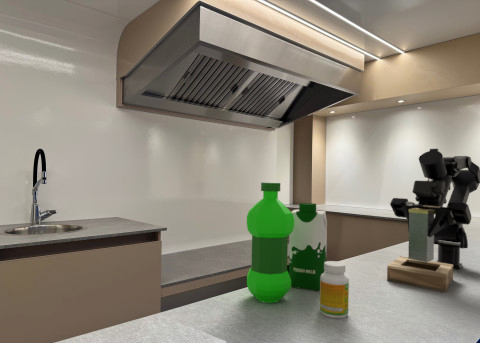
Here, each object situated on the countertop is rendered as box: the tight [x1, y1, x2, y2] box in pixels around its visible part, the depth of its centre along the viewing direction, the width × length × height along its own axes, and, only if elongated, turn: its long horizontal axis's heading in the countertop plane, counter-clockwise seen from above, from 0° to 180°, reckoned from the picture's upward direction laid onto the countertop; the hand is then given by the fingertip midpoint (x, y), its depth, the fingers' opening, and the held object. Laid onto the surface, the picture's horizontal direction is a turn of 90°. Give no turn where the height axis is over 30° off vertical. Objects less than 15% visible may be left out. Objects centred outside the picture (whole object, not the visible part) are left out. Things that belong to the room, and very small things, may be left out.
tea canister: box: [408, 208, 435, 262], centre depth 88 cm, size 5×5×13 cm
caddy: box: [386, 255, 454, 294], centre depth 88 cm, size 13×13×4 cm
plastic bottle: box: [246, 182, 294, 304], centre depth 73 cm, size 10×10×25 cm
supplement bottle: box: [319, 260, 350, 319], centre depth 66 cm, size 5×5×10 cm
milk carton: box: [288, 202, 328, 292], centre depth 83 cm, size 9×9×20 cm
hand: (419, 234), depth 87 cm, fingers closed on tea canister, 4 cm apart
